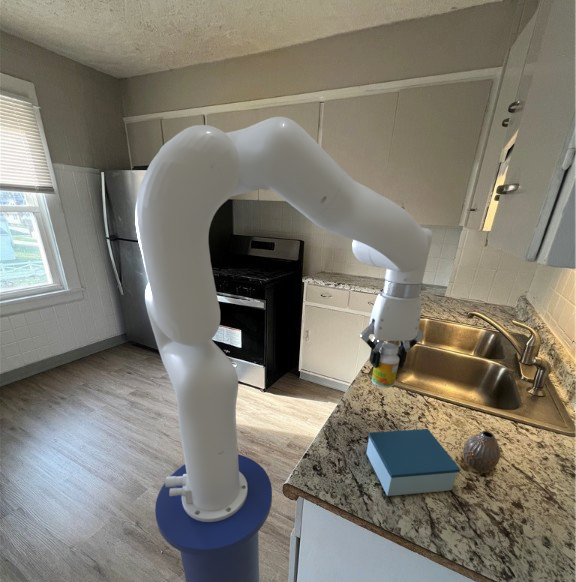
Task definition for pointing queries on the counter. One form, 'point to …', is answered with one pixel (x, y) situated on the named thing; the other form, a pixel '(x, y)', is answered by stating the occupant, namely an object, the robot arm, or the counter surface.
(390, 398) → the counter surface
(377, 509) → the counter surface
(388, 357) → the supplement bottle
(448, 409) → the counter surface
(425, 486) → the blue two-tone box
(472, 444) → the vase
